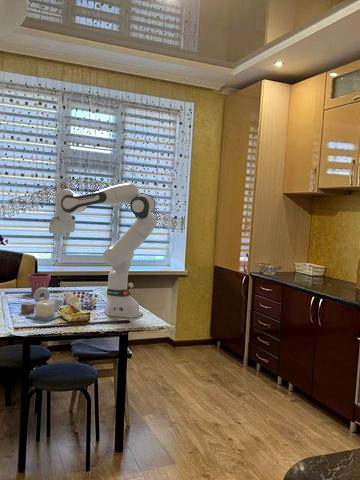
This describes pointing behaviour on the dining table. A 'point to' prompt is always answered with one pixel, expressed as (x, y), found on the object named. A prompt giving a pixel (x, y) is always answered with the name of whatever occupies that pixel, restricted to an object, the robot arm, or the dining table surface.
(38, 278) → the plant pot
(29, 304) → the walnut block
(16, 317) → the dining table surface
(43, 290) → the donut
